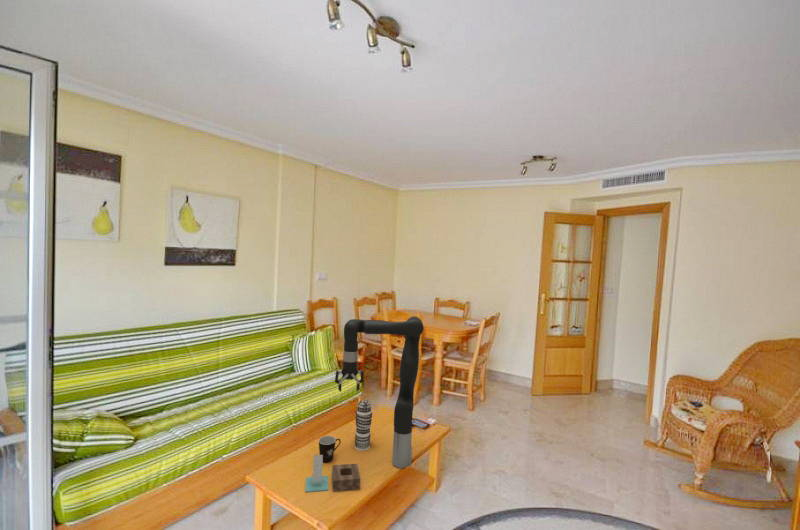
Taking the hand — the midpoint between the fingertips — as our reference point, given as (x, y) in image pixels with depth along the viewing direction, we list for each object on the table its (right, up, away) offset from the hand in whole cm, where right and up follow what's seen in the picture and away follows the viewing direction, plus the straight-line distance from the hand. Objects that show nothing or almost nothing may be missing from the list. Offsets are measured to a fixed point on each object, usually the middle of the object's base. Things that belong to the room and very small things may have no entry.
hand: (348, 390), depth 187 cm
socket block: (+1, -37, -16) cm, 40 cm away
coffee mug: (-10, -36, +2) cm, 37 cm away
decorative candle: (+5, -36, +15) cm, 40 cm away
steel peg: (-12, -36, -19) cm, 42 cm away
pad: (-12, -36, -19) cm, 43 cm away
